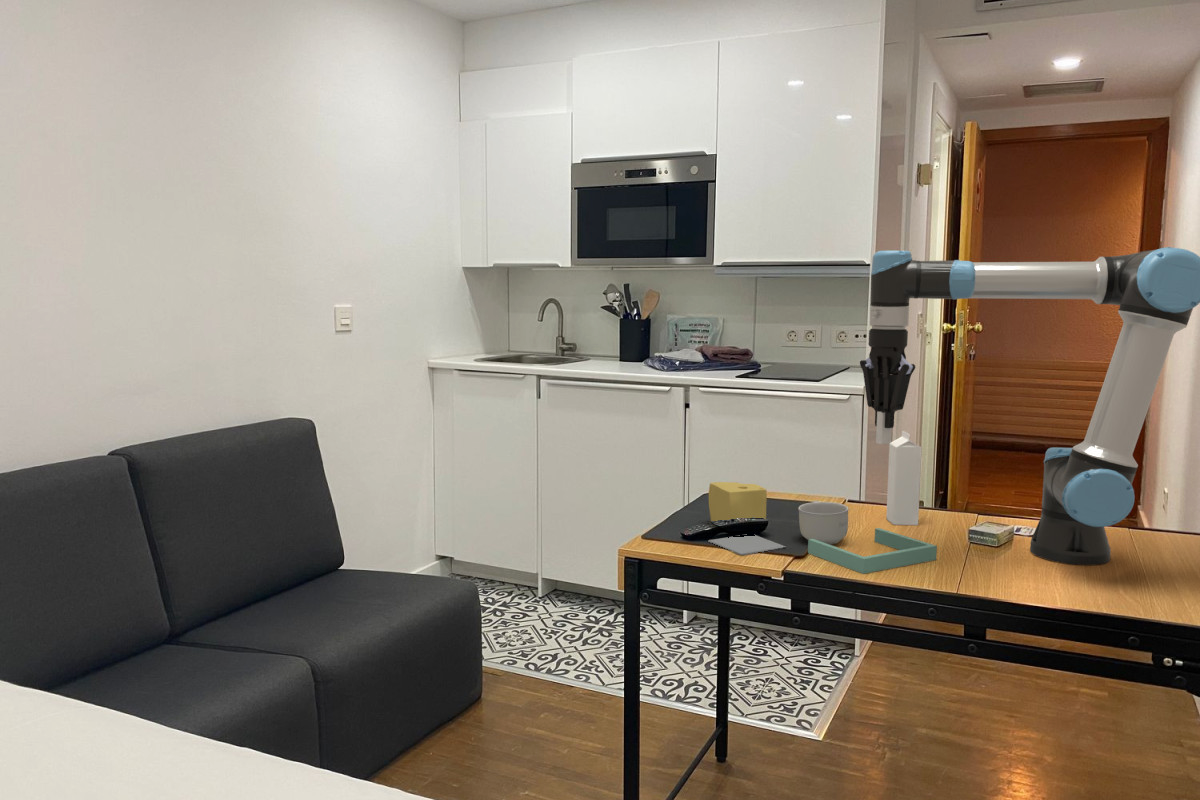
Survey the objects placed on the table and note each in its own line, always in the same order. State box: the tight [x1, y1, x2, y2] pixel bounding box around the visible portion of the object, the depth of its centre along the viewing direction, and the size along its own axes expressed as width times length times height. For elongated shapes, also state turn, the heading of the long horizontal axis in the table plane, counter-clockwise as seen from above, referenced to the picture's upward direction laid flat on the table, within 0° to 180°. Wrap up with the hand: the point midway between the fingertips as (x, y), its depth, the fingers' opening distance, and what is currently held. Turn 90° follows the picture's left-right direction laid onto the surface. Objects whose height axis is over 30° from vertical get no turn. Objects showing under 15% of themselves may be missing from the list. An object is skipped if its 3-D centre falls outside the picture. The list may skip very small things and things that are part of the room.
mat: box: [707, 534, 787, 556], centre depth 201 cm, size 12×12×1 cm
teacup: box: [797, 500, 850, 545], centre depth 206 cm, size 14×11×8 cm
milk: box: [886, 430, 923, 526], centre depth 221 cm, size 6×6×22 cm
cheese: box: [708, 481, 768, 522], centre depth 217 cm, size 10×11×10 cm
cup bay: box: [807, 527, 938, 575], centre depth 193 cm, size 16×20×3 cm
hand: (883, 443), depth 188 cm, fingers closed
